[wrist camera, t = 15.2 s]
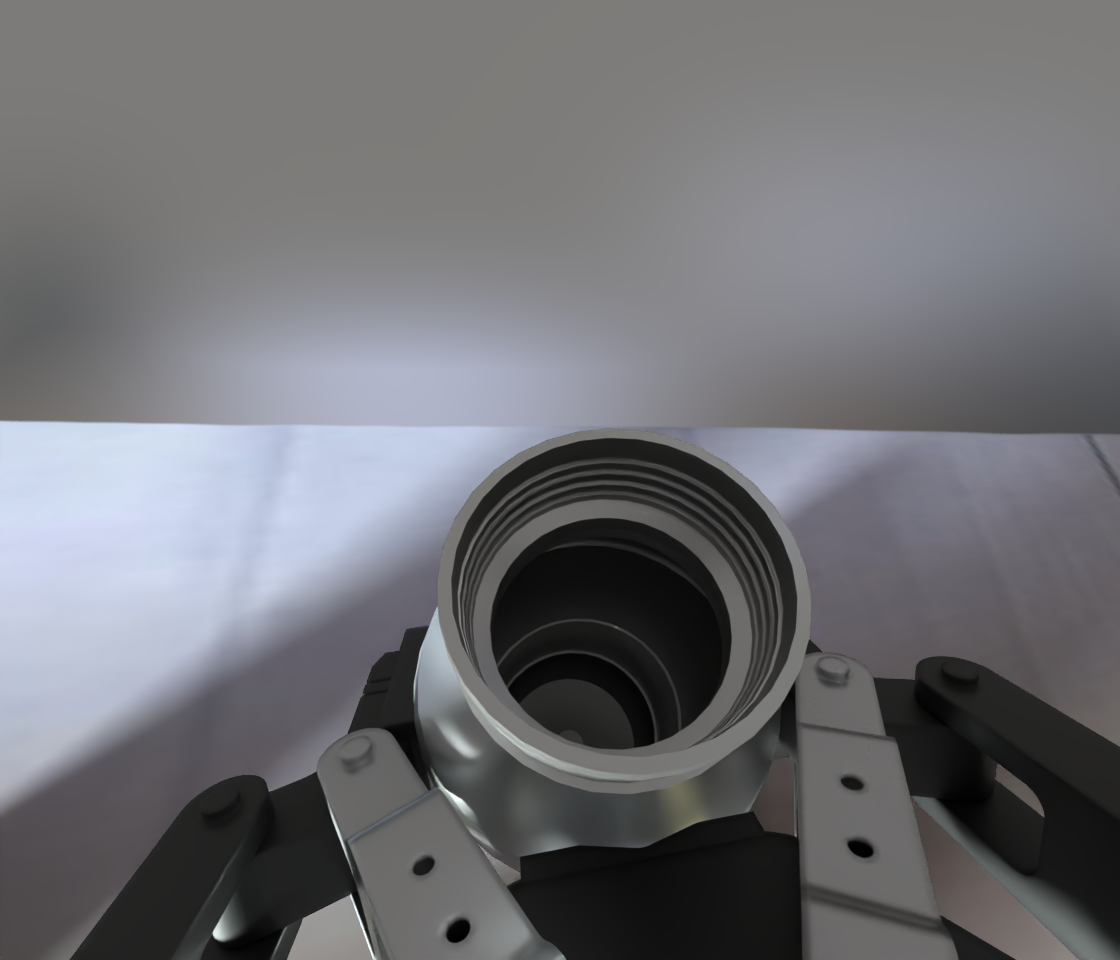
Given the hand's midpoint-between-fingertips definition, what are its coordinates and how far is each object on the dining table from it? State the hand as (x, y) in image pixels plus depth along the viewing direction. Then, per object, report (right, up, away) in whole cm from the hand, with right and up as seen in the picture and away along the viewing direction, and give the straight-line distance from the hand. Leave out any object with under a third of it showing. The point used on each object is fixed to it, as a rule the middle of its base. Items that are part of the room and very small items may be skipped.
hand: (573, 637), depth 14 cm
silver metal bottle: (0, -7, +9) cm, 12 cm away
